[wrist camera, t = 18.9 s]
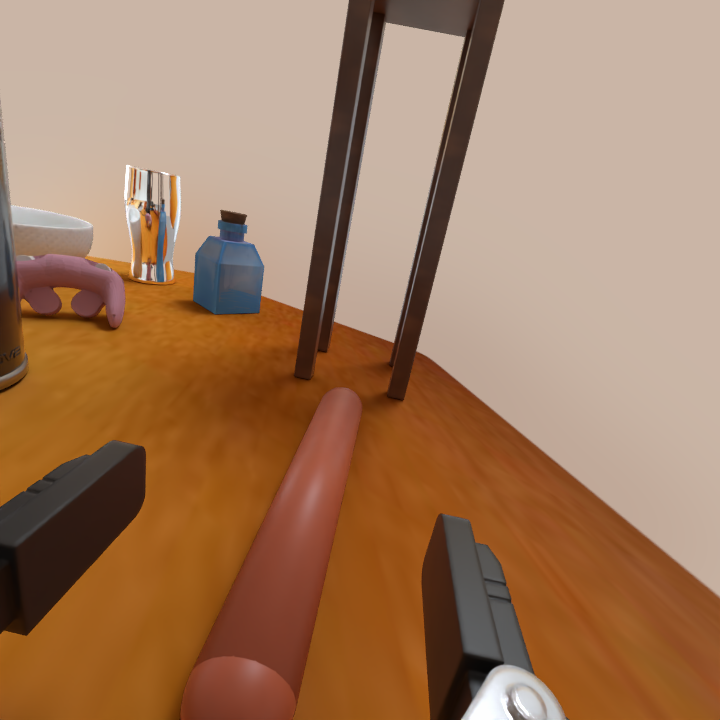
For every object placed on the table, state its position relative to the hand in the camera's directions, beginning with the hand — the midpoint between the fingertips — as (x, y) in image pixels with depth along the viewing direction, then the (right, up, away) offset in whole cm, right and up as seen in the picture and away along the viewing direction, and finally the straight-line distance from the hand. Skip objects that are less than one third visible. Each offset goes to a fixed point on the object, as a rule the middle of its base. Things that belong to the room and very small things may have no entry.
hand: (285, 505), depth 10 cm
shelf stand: (+1, +3, +29) cm, 29 cm away
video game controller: (-26, +8, +27) cm, 39 cm away
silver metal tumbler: (-29, +16, +48) cm, 58 cm away
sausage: (0, -4, +9) cm, 10 cm away
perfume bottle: (-16, +11, +42) cm, 46 cm away
